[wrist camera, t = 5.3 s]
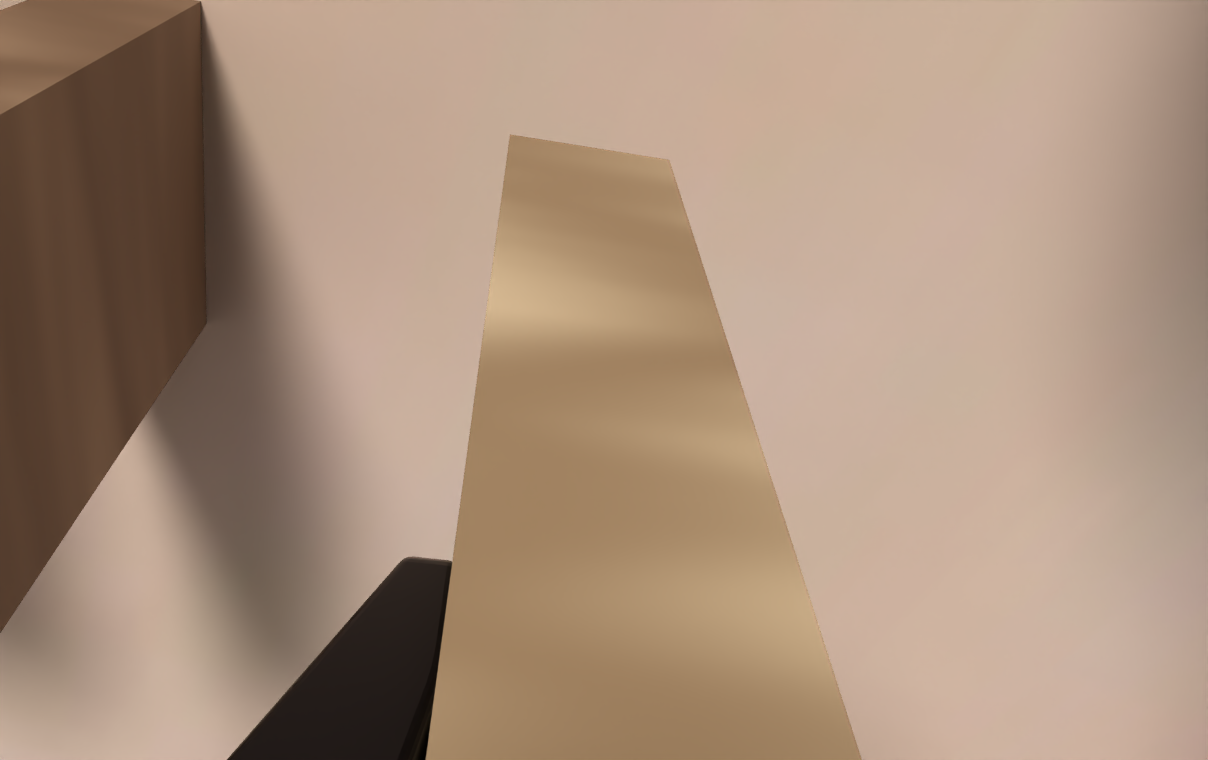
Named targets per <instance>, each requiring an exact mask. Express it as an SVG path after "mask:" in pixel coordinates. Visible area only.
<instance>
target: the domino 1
mask: <svg viewBox="0 0 1208 760" xmlns="http://www.w3.org/2000/svg"><path fill="white" fill-rule="evenodd" d="M206 323H207V321H206V267H205V214H204V160H203V107H202V53H201V1H195V0H27V1H24V2H21V3H19V4H16V5H13V6H11V7H8V8H5V9H3V10H0V633H1V631H2V630H3V628H4V627H5V625H6V624H7V622H8V621H9V619H10V618H11V616H12V615H13V613H14V612H15V610H16V609H17V607H18V606H19V604H20V603H21V601H22V600H23V598H24V597H25V595H26V594H27V592H28V591H29V589H30V588H31V586H32V585H33V583H34V582H35V580H36V579H37V577H38V576H39V574H40V573H41V571H42V570H43V568H44V567H45V565H46V564H47V562H48V561H49V559H50V558H51V556H52V555H53V553H54V552H55V550H56V549H57V547H58V546H59V544H60V543H61V541H62V540H63V538H64V536H65V535H66V533H67V532H68V530H69V529H70V527H71V526H72V524H73V523H74V521H75V520H76V518H77V517H78V515H79V514H80V512H81V511H82V509H83V508H84V506H85V505H86V503H87V502H88V500H89V499H90V497H91V496H92V494H93V493H94V491H95V490H96V488H97V487H98V485H99V484H100V482H101V481H102V479H103V478H104V476H105V475H106V473H107V472H108V470H109V469H110V467H111V466H112V464H113V463H114V461H115V460H116V458H117V457H118V455H119V454H120V452H121V451H122V449H123V448H124V446H125V445H126V443H127V442H128V440H129V439H130V437H131V436H132V434H133V433H134V431H135V430H136V428H137V427H138V425H139V424H140V422H141V421H142V419H143V418H144V416H145V415H146V413H147V412H148V410H149V409H150V407H151V406H152V404H153V403H154V401H155V400H156V398H157V397H158V395H159V394H160V392H161V391H162V389H163V388H164V386H165V385H166V383H167V382H168V380H169V379H170V377H171V376H172V374H173V373H174V371H175V370H176V368H177V367H178V365H179V364H180V362H181V361H182V359H183V358H184V356H185V355H186V353H187V352H188V350H189V349H190V347H191V346H192V344H193V343H194V341H195V340H196V338H197V337H198V335H199V334H200V332H201V331H202V329H203V328H204V326H205V325H206Z"/></svg>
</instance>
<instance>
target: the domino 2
mask: <svg viewBox="0 0 1208 760" xmlns="http://www.w3.org/2000/svg"><path fill="white" fill-rule="evenodd" d="M426 760H862V759H861V756H860V753H859V750H858V747H857V744H856V740H855V737H854V734H853V731H852V728H851V725H850V722H849V719H848V716H847V712H846V709H845V706H844V703H843V700H842V697H841V694H840V691H839V687H838V684H837V681H836V678H835V675H834V672H833V669H832V666H831V663H830V659H829V656H828V653H827V650H826V647H825V644H824V641H823V638H822V635H821V631H820V628H819V625H818V622H817V619H816V616H815V613H814V610H813V606H812V603H811V600H810V597H809V594H808V591H807V588H806V585H805V582H804V578H803V575H802V572H801V569H800V566H799V563H798V560H797V557H796V554H795V550H794V547H793V544H792V541H791V538H790V535H789V532H788V529H787V526H786V522H785V519H784V516H783V513H782V510H781V507H780V504H779V501H778V497H777V494H776V491H775V488H774V485H773V482H772V479H771V476H770V473H769V469H768V466H767V463H766V460H765V457H764V454H763V451H762V448H761V445H760V441H759V438H758V435H757V432H756V429H755V426H754V423H753V420H752V416H751V413H750V410H749V407H748V404H747V401H746V398H745V395H744V392H743V388H742V385H741V382H740V379H739V376H738V373H737V370H736V367H735V364H734V360H733V357H732V354H731V351H730V348H729V345H728V342H727V339H726V336H725V332H724V329H723V326H722V323H721V320H720V317H719V314H718V311H717V307H716V304H715V301H714V298H713V295H712V292H711V289H710V286H709V283H708V279H707V276H706V273H705V270H704V267H703V264H702V261H701V258H700V255H699V251H698V248H697V245H696V242H695V239H694V236H693V233H692V230H691V226H690V223H689V220H688V217H687V214H686V211H685V208H684V205H683V202H682V198H681V195H680V192H679V189H678V186H677V183H676V180H675V177H674V174H673V170H672V167H671V164H670V161H669V160H666V159H660V158H654V157H647V156H641V155H635V154H629V153H622V152H616V151H610V150H604V149H597V148H591V147H585V146H578V145H572V144H566V143H560V142H553V141H547V140H541V139H535V138H528V137H522V136H516V135H510V139H509V147H508V154H507V161H506V169H505V176H504V184H503V191H502V198H501V206H500V213H499V221H498V228H497V235H496V243H495V250H494V258H493V265H492V272H491V280H490V287H489V295H488V302H487V310H486V317H485V324H484V332H483V339H482V347H481V354H480V361H479V369H478V376H477V384H476V391H475V398H474V406H473V413H472V421H471V428H470V435H469V443H468V450H467V458H466V465H465V473H464V480H463V487H462V495H461V502H460V510H459V517H458V524H457V532H456V539H455V547H454V554H453V561H452V569H451V576H450V584H449V591H448V598H447V606H446V613H445V621H444V628H443V636H442V643H441V650H440V658H439V665H438V673H437V680H436V687H435V695H434V702H433V710H432V717H431V724H430V732H429V739H428V747H427V754H426Z"/></svg>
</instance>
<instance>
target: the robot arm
mask: <svg viewBox="0 0 1208 760" xmlns="http://www.w3.org/2000/svg"><path fill="white" fill-rule="evenodd" d="M451 569H452V561H448V560H439V559H430V558H421V557H407V558H405V559H403V560H402V561H401V562H400V563H399V564H398V565H397V566H396V567H395V568H394V569H393V571H392V572H391V573H390V574H389V575H388V576H387V577H386V579H385V580H384V581H383V582H382V583H381V584H380V585H379V587H378V588H377V589H376V590H375V591H374V592H373V593H372V595H371V596H370V597H369V598H368V599H367V600H366V601H365V603H364V604H363V605H362V606H361V607H360V608H359V609H358V611H357V612H356V613H355V614H354V615H353V616H352V617H351V619H350V620H349V621H348V622H347V623H346V624H345V625H344V627H343V628H342V629H341V630H340V631H339V632H338V633H337V635H336V636H335V637H334V638H333V639H332V640H331V641H330V643H329V644H328V645H327V646H326V647H325V648H324V649H323V651H322V652H321V653H320V654H319V655H318V656H317V657H316V659H315V660H314V661H313V662H312V663H311V664H310V665H309V667H308V668H307V669H306V670H305V671H304V672H303V673H302V675H301V676H300V677H299V678H298V679H297V680H296V681H295V682H294V684H293V685H292V686H291V687H290V688H289V689H288V690H287V692H286V693H285V694H284V695H283V696H282V697H281V698H280V700H279V701H278V702H277V703H276V704H275V705H274V706H273V708H272V709H271V710H270V711H269V712H268V713H267V714H266V716H265V717H264V718H263V719H262V720H261V721H260V722H259V724H258V725H257V726H256V727H255V728H254V729H253V730H252V732H251V733H250V734H249V735H248V736H247V737H246V738H245V740H244V741H243V742H242V743H241V744H240V745H239V746H238V748H237V749H236V750H235V751H234V752H233V753H232V754H231V756H230V757H229V758H228V759H227V760H426V754H427V747H428V739H429V732H430V724H431V717H432V710H433V702H434V695H435V687H436V680H437V673H438V665H439V658H440V650H441V643H442V636H443V628H444V621H445V613H446V606H447V598H448V591H449V584H450V576H451Z"/></svg>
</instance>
